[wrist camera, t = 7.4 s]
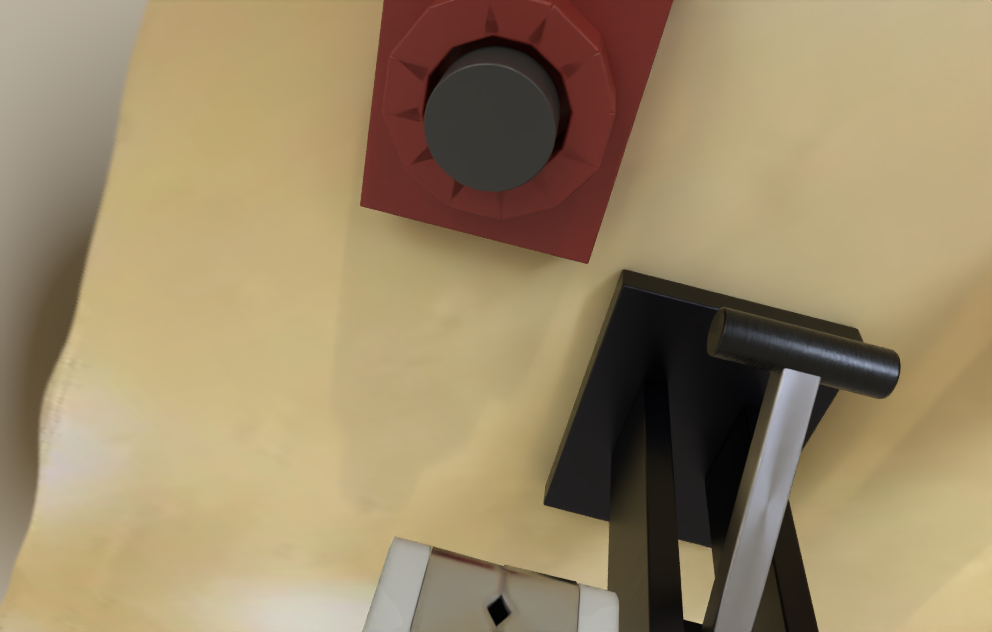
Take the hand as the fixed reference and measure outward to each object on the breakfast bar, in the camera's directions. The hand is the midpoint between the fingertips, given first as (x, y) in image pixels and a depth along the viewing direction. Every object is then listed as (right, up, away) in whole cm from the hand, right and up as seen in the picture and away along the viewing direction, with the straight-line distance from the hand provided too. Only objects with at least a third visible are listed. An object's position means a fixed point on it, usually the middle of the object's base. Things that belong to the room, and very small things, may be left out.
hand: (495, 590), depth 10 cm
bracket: (+8, 0, +22) cm, 23 cm away
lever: (+7, -3, +13) cm, 15 cm away
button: (0, +10, +12) cm, 15 cm away
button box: (+1, +12, +15) cm, 19 cm away
